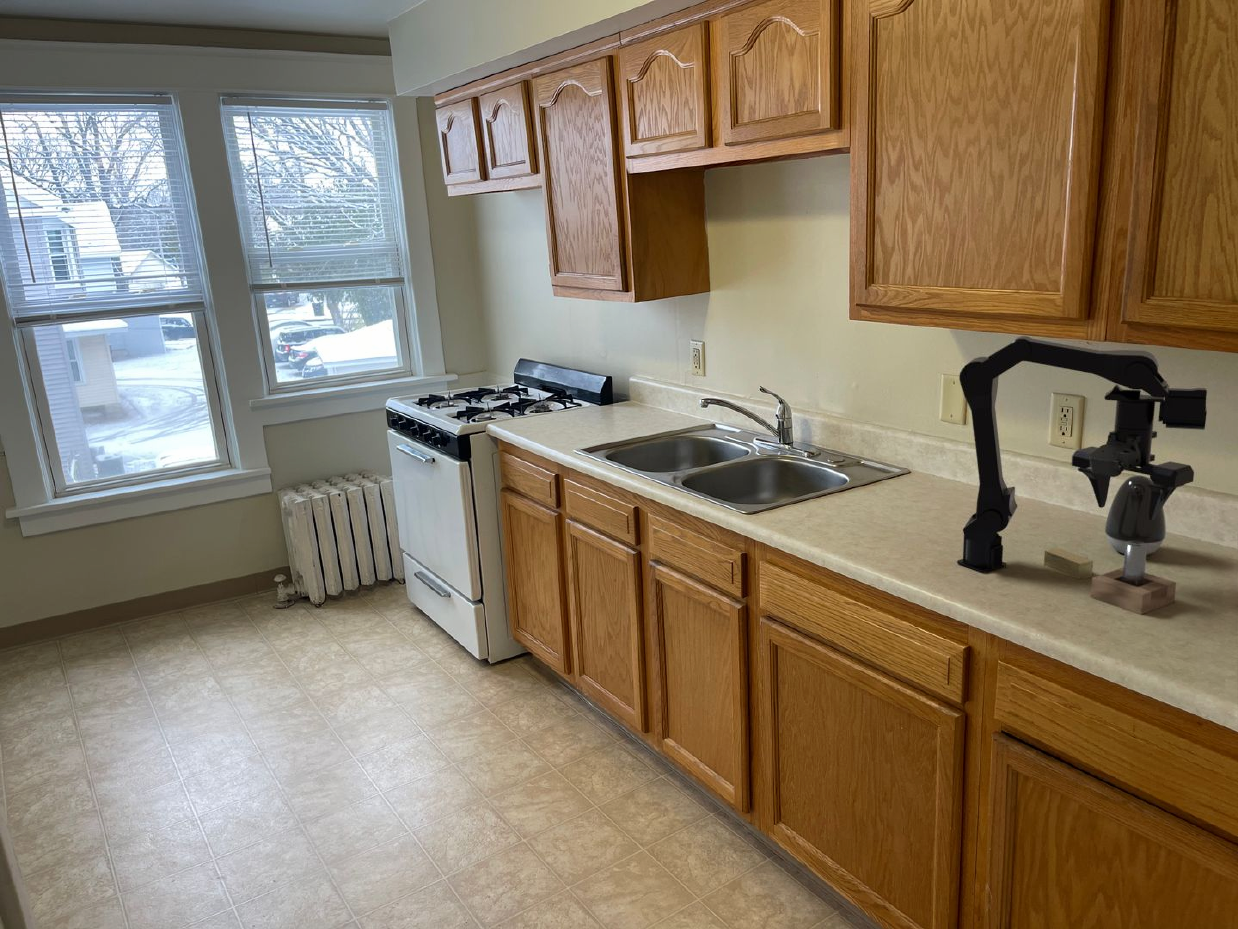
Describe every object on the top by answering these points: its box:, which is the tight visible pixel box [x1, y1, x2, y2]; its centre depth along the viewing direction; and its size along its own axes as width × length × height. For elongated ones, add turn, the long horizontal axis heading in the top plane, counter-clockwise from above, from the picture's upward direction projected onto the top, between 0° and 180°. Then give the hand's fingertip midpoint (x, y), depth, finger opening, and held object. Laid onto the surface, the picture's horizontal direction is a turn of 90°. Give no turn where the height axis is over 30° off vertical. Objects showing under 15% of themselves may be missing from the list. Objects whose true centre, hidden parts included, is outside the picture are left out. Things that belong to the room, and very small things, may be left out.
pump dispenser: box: [1104, 475, 1167, 556], centre depth 175 cm, size 10×10×15 cm
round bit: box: [1122, 541, 1147, 587], centre depth 155 cm, size 3×3×10 cm
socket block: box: [1090, 567, 1177, 615], centre depth 156 cm, size 9×9×4 cm
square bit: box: [1043, 547, 1094, 580], centre depth 169 cm, size 8×3×3 cm, turn 22°
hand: (1126, 513), depth 160 cm, fingers open, 9 cm apart
